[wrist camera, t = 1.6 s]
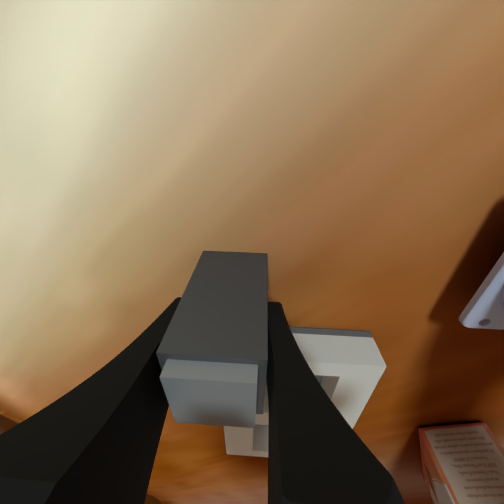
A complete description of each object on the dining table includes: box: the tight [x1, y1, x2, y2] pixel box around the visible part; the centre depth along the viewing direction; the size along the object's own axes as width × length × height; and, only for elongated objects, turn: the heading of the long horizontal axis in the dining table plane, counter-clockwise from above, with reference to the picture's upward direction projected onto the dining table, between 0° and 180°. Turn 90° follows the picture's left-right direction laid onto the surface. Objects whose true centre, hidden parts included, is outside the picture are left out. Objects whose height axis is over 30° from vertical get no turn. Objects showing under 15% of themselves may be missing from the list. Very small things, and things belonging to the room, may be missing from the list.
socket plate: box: [224, 327, 387, 457], centre depth 18 cm, size 10×15×2 cm, turn 179°
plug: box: [156, 251, 268, 428], centre depth 11 cm, size 4×4×7 cm
